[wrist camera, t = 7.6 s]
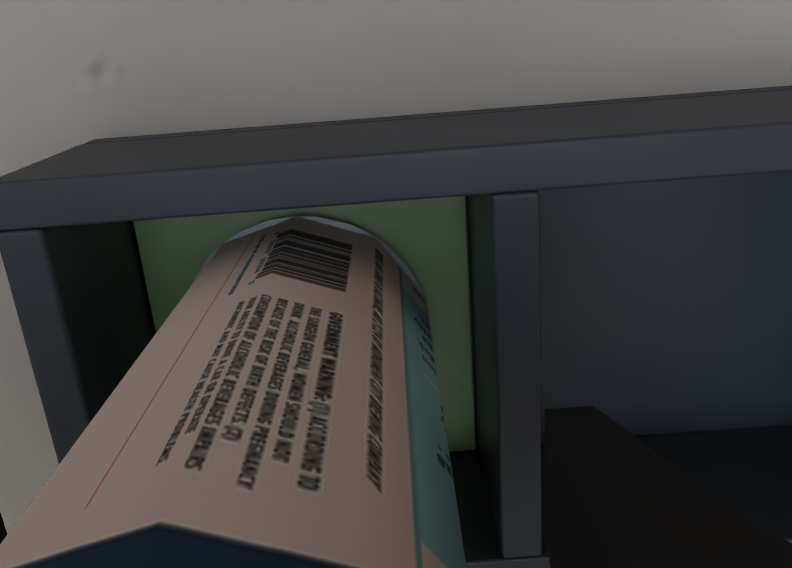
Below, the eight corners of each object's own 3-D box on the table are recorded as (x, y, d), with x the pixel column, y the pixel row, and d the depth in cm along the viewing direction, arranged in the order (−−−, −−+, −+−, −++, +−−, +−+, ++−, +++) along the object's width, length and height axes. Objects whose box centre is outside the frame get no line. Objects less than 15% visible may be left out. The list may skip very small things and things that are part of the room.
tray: (817, 434, 16) (951, 561, 12) (166, 480, 16) (99, 621, 13) (869, 79, 14) (1060, 100, 10) (91, 138, 14) (-21, 183, 10)
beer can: (138, 306, 14) (-830, 1423, 3) (325, 157, 13) (-25, 945, 2) (298, 469, 15) (65, 1668, 4) (477, 343, 15) (801, 1458, 3)
